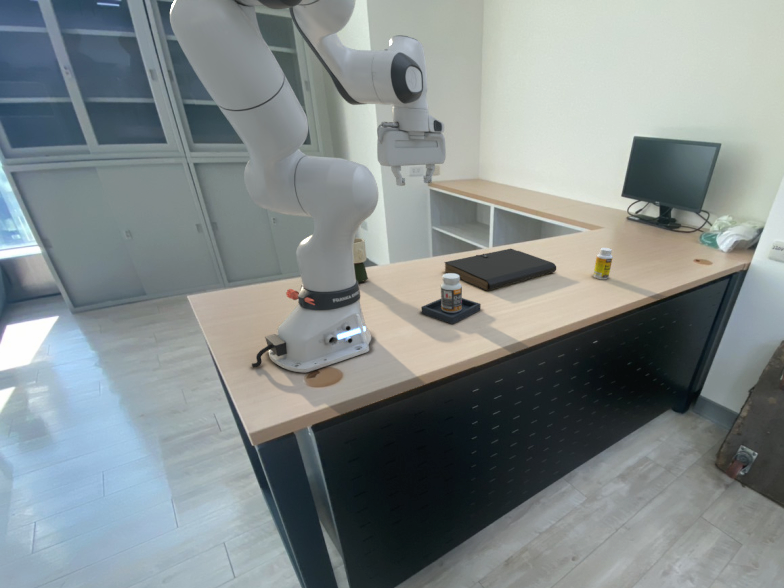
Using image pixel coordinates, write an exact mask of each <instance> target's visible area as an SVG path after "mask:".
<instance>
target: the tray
mask: <svg viewBox="0 0 784 588" xmlns="http://www.w3.org/2000/svg"><path fill="white" fill-rule="evenodd" d="M481 307H482V306H481V303H479V302H476V301H473V300H470V299H467V298H464V297H462V309H461V311H460V312H457V313H446V312H444V311H443V310H442V307H441V298H439V299H436V300H434V301H432V302H430V303H427V304H425V305H422V306H421V307H420V309H421V314H422V315H425V316H427V317H430V318H433V319H437V320H439V321H442V322H444V323H447V324H450V325H454V324H456V323H459V322H460V321H462V320H464V319H466V318H468V317H470V316H472V315H474V314H476V313H477V312H481Z"/></svg>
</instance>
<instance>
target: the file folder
mask: <svg viewBox="0 0 784 588" xmlns="http://www.w3.org/2000/svg"><path fill="white" fill-rule="evenodd" d="M443 263H444V274H447V273H454V274H458V275H459V276H460V280H461V281H463V282H465V283H467V284H470V285H472V286H474V287H477V288H479V289H481V290H483V291H486V292H487V291H492V290H495V289H499V288H503V287H505V286H510V285H512V284H517V283H520V282H524V281H527V280H531V279H534V278H538V277H541V276H545V275H548V274H553V273H555V272H556V271H557V265H556V264H555V263H554V262H551V261H549V260H546V259H543V258H540V257H538V256H535V255H532V254H530V253H526V252H523V251H521V250H516V249H514V248H507V249H502V250H497V251H491V252H488V253H482V254H476V255H473V256H468V257H462V258H458V259H453V260H449V261H444V262H443Z"/></svg>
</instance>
